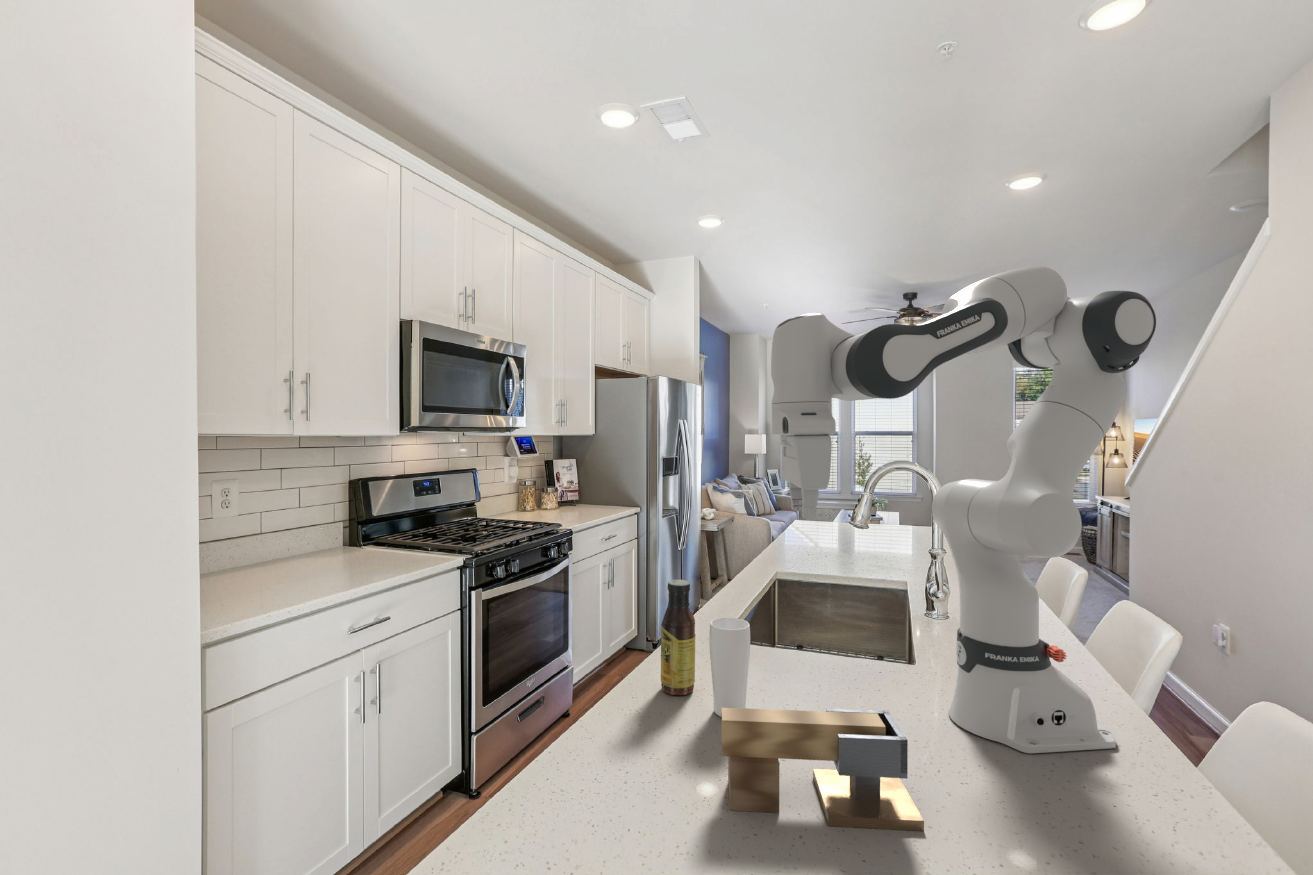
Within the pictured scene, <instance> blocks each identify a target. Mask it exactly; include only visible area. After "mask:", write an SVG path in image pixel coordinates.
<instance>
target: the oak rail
mask: <svg viewBox="0 0 1313 875" xmlns="http://www.w3.org/2000/svg"><path fill="white" fill-rule="evenodd" d="M838 734H850V735H874V736H886V727H885V725H884V723H883V722H882V720H881V719H880V717H879V715H878V714H876V713H850V712H826V711H823V710H822V711H820V710H815V711H814V710H794V709H791V710H790V709H772V708H771V709H767V708H764V709H762V708H746V709H745V708H722V717H721V754H722V755H721V756H722V757H728V756H735V757H757V758H778V760H779V759H783V760H803V761H804V760H805V761H807V760H809V761H828V762H834V761H838Z"/></svg>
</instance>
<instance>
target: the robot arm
mask: <svg viewBox="0 0 1313 875" xmlns="http://www.w3.org/2000/svg"><path fill="white" fill-rule="evenodd" d="M1156 328H1157V317H1156V313H1155V310H1154V308H1153V306H1152V304H1151V302H1150V301H1149V299H1148V298H1147V297H1145V296H1144V295H1143V294H1141V293H1139V292H1137V291H1130V290H1108V291H1103V292H1101V293H1099V294H1098V293H1097V294H1090V295H1084V296H1083V295H1082V296H1078V297H1073V298H1071V297H1069V296H1068V289H1067V285H1066V282H1065V281H1064V279H1063V278H1062V276H1061V275H1060V274H1059V273H1058V272H1057V271H1056V270H1054V269H1052V268H1050V267H1047V266H1042V265H1033V266H1031V265H1030V266H1024V267H1020V268H1015V269H1010V270H1007V271H1003V272H1000V273H997V274H994V275H991V276H989V277H986V278H983V279H980V280H979V281H976V282H974V283H971V284H970V285H967V286H966V287H964V288H962V289H960V290H959V291H958V292H956V293H954V294H953V295H951V296H950V297H949V298H948V299H947V300H946V301H945V303H944V306H943V308H942V311H941V315H939V316H937V317H935V318H932V319H930V320H927V321H925V322H923V323H920V324H915V325H912V324H901V323H888V324H887V323H886V324H881V325H880V326H876V327H875V328H873V329H870V330H868V331H866V332H864V333H860V334H858V335H857V334H852V333H851V332H848V331H846V330H844V329H842V328H840V327H838V326H837V325H835V324H834V323H833V322H831V321H830V320H829V319H828V318H827V316H826V315H825V314H823V313H820V312H819V313H817V312H812V313H805V314H801V315H797V316H794V317H790V318H787V319H785V320H784V321H782V322H780V323H779V324H778V325H777V326H776V328H775V329H774V331H773V332H774V333H773V337H772V343H771V359H770V362H771V364H770V371H771V372H770V374H771V379H772V383H773V390H774V391H773V395H772V398H771V434H772V435H774V436H775V435H780V446H781V478H782V479H783V480H784V481H787V482H788V488H789V494H790V499H791V500H790V501H791V502H790V503H791V504H790V506H791V509H792V510H793V511H794V512H801V517H802V518H803V520H807V521H810V520H811V521H813V520H816V518H817V505H818V501H819V490H826V489H828V487H829V485H830V484H829V483H830V479H831V478H830V477H831V468H832V466H831V464H832V449H833V448H832V446H833V445H832V443H833V442H832V437H831V436H833V435H835V434H836V430H837V428H836V426H837V425H836V424H837V423H836V420H835V418H834V416H833V399H838V400H841V401H848V402H849V401H850V402H852V401H853V402H854V401H865V400H873V399H888V400H891V399H893V400H894V399H899V398H902V397H905V396H907V395H909V394H910V393H912V392H913V391H914V390H916V389H917V388H918V387H919V386H920V385H921V384H922V383H923V382H924V380H925V379H926V378H927V377H928V376H929V375H930V374H931V373H932V372H933V371H934V370H935V369H936V368H938V367H939V366H941V365H943V364H945V363H947V362H949V361H951V360H953V359H956V358H958V357H959V356H962V355H964V354H968V355H971V354H978V353H983V352H988V351H992V350H995V349H998V348H1000V347H1004V346H1006V345H1007V348H1008V350H1009V353H1010V354H1011V356H1012V358H1013V359H1014V361H1015V362H1017V364H1019V365H1021V366H1022V367H1025V368H1029V369H1037V370H1047V369H1051V368H1053V369H1052V376H1051V379H1050V382H1049V384H1048V386H1047V388H1045V390H1044V391H1043V392H1042V393H1041V394H1040V395H1039V397H1038V398H1037V399H1036V401H1035V402H1034V403H1033V405H1032V406H1031V407H1030V408H1029V410H1028V411H1027V413H1026V414H1025V416H1023V418H1022V419H1021V421H1020V422H1019V424H1018V425H1017V426H1016V427H1015V429H1014V430H1013V432H1012V433H1011V434H1010V436H1009V437H1008V439H1007V441H1006V450H1007V453H1008V456H1009V457H1010V459H1011V462H1010V465H1009V467H1008V470H1007V472H1006V474H1005V475H1004V476H1003V477H1002V478H1001V479H999V480H989V479H978V478H965V479H960V480H955V481H951V482H948V483H946V484H944V485H943V486H941V487H940V488H939V489H938V490H937V491H936V493H935V494H934V496H933V499H932V502H931V514H932V518H933V521H935V522H934V523H936V525H937V526H938V528H939V529H940V531H942V533H943V535H944V537H945V539H946V542H947V544H948V547H949V549H950V553H951V556H952V560H953V562H954V567H955V571H956V574H957V580H958V590H959V628H958V629H957V630H956V631H957V632H956V642H955V643H956V644H955V651H956V652H955V654H956V656H955V657H956V663H957V665H958V666H957V676H956V681H955V682H956V684H955V688H954V693H953V697H952V700H951V703H950V706H949V708H948V716H949V717H950V719H951V721H952V722H954V723H955V724H956V725H957V726H959V727H960V728H962V729H963V730H966V731H968V732H969V733H972V734H974V735H976V736H978V737H982V738H984V739H987V740H991V741H994V742H998V743H1001V744H1003V745H1006V746H1008V747H1010V748H1013V749H1015V750H1017V751H1019V752H1022V753H1025V754H1045V753H1058V752H1073V751H1074V752H1075V751H1090V750H1106V749H1115V748H1116V747H1117V744H1116V737H1115V735H1114V734H1113V733H1112V731H1111V730H1110V729H1109V728H1108V727H1107V726H1106V725H1105V724H1104V723H1102V721H1100V720H1098V719H1097V714H1096V710H1095V706H1094V703H1093V701H1092V699H1091V698H1090V696H1089V695H1088V693H1087V692H1086V691H1085V690H1084V689H1083V688H1082V687H1081V686H1080V685H1078V684H1077V683H1076V682H1074V681H1073V680H1072V679H1071V678H1070V677H1069V676H1067V675H1066V674H1064V673H1063V672H1062V671H1061V670H1059V669H1058V668H1057V667H1055V666H1054V665H1053V664H1052V661H1051V660H1050V658H1051V659H1052V660H1054V661H1055V662H1057V663H1063V662H1064V661H1065V660H1067V652H1065V651H1064V650H1063V649H1061V648H1060V647H1058V646H1056V645H1050V644H1049V643H1048V642H1046V641H1044V640H1042V639H1041V638H1040V596H1039V592H1038V590H1037V588H1036V586H1035V584H1034V583H1033V581H1031V579H1030V578H1029V577H1028V576H1027V574H1026V573H1025V571H1024V570H1023V567H1022V565H1021V563H1020V560H1019V557H1022V558H1036V559H1042V558H1043V559H1044V558H1046V559H1048V558H1049V559H1050V558H1051V559H1052V558H1058V557H1062V556H1063V555H1064V556H1065V555H1066V554H1067V553H1070V551H1071V550H1072V549H1073V548H1074V547H1075V545H1077V543H1078V541H1079V539H1080V536H1081V533H1082V525H1083V523H1082V517H1081V513H1080V510H1079V509H1078V508H1079V507H1077V505H1076V504H1075V502H1074V490H1075V486H1076V483H1077V481H1078V480H1077V479H1078V477H1079V475H1080V474H1081V472H1082V470H1083V469H1084V467H1085V465H1087V463H1088V461H1089V459H1090V458H1091V457H1092V455H1093V454H1094V452H1095V451H1096V450H1097V448H1098V447H1099V444H1101V442H1102V441H1103V439H1104V438H1105V437H1106V435H1107V434H1108V432H1109V430H1110V429H1111V427H1112V425H1113V424H1114V423H1115V420H1116V419H1117V416H1118V414H1119V413H1120V411H1121V408H1122V406H1123V403H1124V401H1125V398H1126V395H1127V387H1128V386H1127V383H1126V381H1125V379H1124V377H1123V376H1122V375H1121V374H1120V373H1123V372H1126V371H1128V370H1129V369H1131V368H1133V367H1134V366H1135V365H1136V364H1137V363H1138V362H1139V361H1140V356H1141V355H1142V354H1143V353H1144V352H1145V351H1146V350H1147V348H1148V346H1149V344H1150V342H1151V340H1152V338H1153V336H1154V334H1155V331H1156Z"/></svg>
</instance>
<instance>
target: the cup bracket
mask: <svg viewBox="0 0 1313 875" xmlns="http://www.w3.org/2000/svg"><path fill="white" fill-rule="evenodd" d="M825 709H826V710H825V712H850V713H876V714H878V715H879V717H880V719H881V720H882V722H883V723H884V725H885V727H886V736H874V735H850V734H838V761H833V763H834V766H835V768H836V769H827V768H826V769H824V768H823V769H821V768H812V769H813V770H812V778H813V781H814V784H815V788H816V791H817V793H818V794H817V795H818V797H819V801H820V804H821V807H822V811H823V814H824V817H825V820H826V822H827V826H828V827H842V828H857V829H858V828H859V829H861V828H862V829H876V830H877V829H880V830H894V831H895V830H896V831H897V830H898V831H914V832H915V831H916V832H924V831H925V820H924V818H923V816H922V814H921V813H920V811H919V810H918V808H917V806H916V804H915V803H914V801H913V798H912V797H911V796H910V794H909V792H908V790H907V789H906V787H905V785H904V783H903V781H902V780H901V779H904V780H905V779H908V768H909V767H908V760H909V759H908V747H909V746H908V745H909V744H908V738H907V737H906V735H905V734H904V733H903V731H902V730H901V728H900V726H899V725H898V724H897V721H895V719H894V717H893V716H892V715H891V713H890V712H889V710H878V709H877V710H874V709H851V708H848V709H847V708H845V709H844V708H825Z"/></svg>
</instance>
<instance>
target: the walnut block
mask: <svg viewBox="0 0 1313 875" xmlns="http://www.w3.org/2000/svg"><path fill="white" fill-rule="evenodd" d="M727 759H728V762H727V763H728V766H727V768H728V770H727V776H728V778H727V779H728V780H727V781H728V782H727V783H728V784H727V785H728V796H729V797H728V799H729V811H738V812H739V811H740V812H755V813H756V812H757V813H758V812H759V813H773V814H774V813H776V814H778V813H780V760H779V758H757V757H735V756H727Z"/></svg>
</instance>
